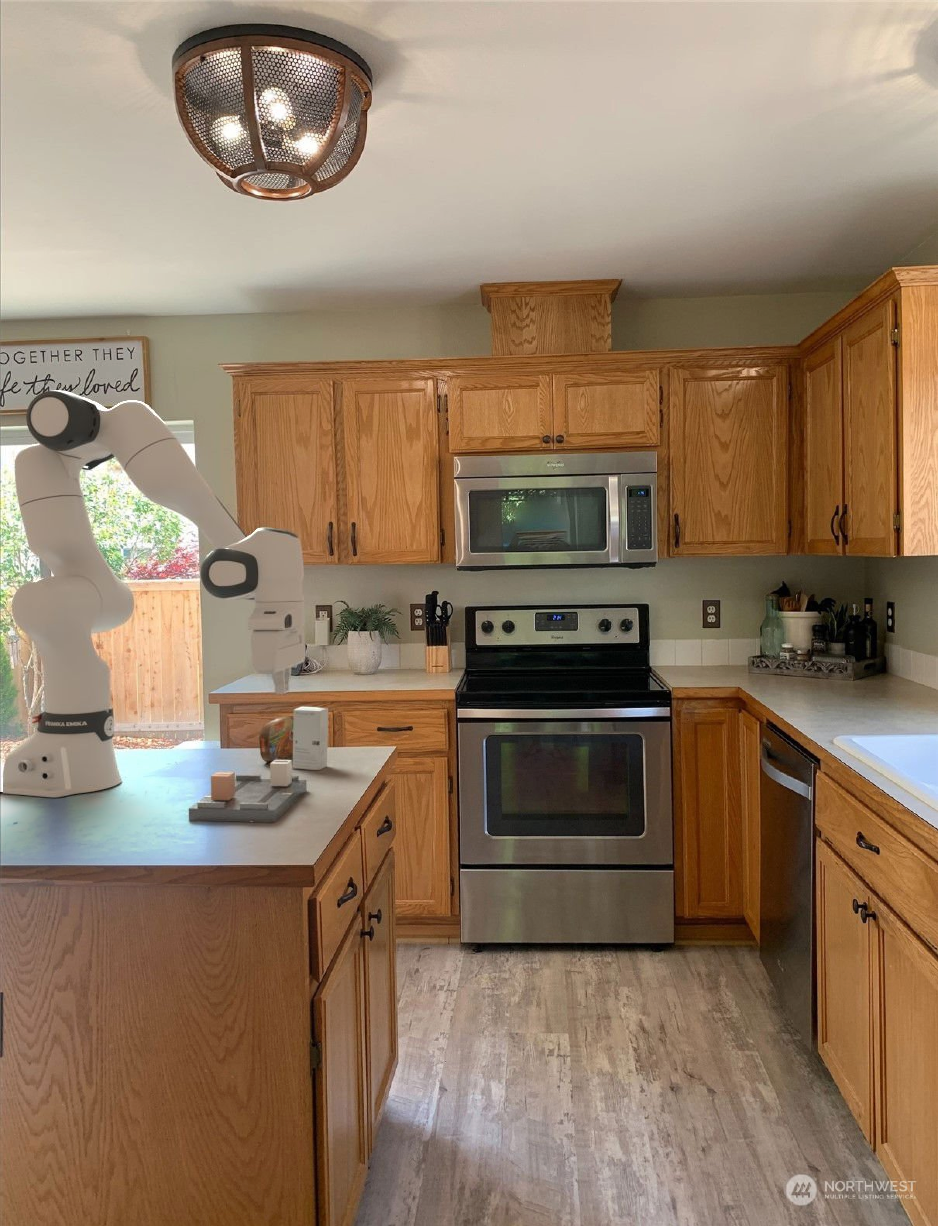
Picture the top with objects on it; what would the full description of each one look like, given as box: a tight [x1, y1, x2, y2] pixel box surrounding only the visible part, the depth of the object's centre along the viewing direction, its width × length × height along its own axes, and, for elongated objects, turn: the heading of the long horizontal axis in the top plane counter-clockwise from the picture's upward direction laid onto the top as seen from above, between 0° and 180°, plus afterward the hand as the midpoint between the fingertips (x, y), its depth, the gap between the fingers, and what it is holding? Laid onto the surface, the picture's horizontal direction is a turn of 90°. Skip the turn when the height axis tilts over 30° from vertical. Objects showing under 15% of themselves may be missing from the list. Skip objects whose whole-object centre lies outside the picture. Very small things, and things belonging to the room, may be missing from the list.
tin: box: [258, 715, 294, 763], centre depth 190 cm, size 15×3×8 cm, turn 168°
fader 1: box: [210, 771, 236, 800], centre depth 150 cm, size 3×3×4 cm
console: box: [188, 774, 307, 824], centre depth 154 cm, size 14×20×3 cm
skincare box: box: [292, 706, 329, 771], centre depth 181 cm, size 6×4×12 cm
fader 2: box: [269, 759, 293, 786], centre depth 159 cm, size 3×3×4 cm
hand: (282, 693), depth 163 cm, fingers closed
